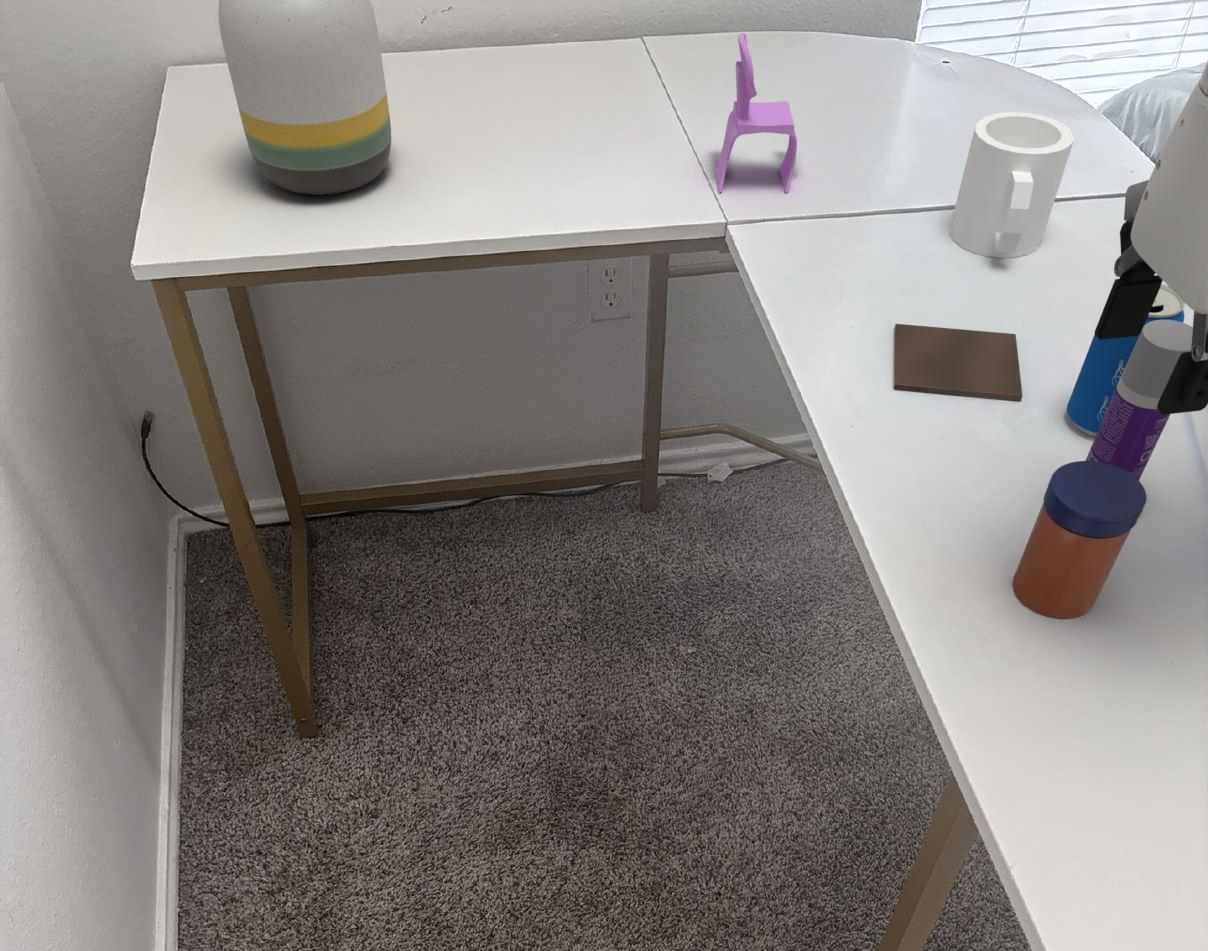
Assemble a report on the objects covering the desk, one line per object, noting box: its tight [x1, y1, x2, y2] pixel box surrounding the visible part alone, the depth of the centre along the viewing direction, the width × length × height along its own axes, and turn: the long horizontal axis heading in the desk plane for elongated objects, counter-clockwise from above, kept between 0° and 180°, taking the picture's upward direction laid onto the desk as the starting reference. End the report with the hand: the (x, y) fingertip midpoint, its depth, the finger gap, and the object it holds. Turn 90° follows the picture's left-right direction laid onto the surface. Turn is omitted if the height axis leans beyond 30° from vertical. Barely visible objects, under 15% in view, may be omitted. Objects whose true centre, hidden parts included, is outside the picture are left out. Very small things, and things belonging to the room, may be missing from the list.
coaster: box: [893, 323, 1023, 402], centre depth 107 cm, size 12×11×1 cm
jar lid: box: [1043, 460, 1148, 537], centre depth 81 cm, size 7×7×2 cm
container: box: [1085, 320, 1193, 482], centre depth 89 cm, size 5×5×15 cm
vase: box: [217, 0, 392, 196], centre depth 122 cm, size 17×17×24 cm
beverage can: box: [1065, 283, 1186, 438], centre depth 97 cm, size 6×6×12 cm
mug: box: [949, 111, 1075, 259], centre depth 118 cm, size 14×10×11 cm
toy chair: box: [714, 32, 798, 194], centre depth 125 cm, size 8×9×15 cm
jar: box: [1011, 501, 1132, 619], centre depth 84 cm, size 7×7×9 cm
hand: (1147, 370), depth 72 cm, fingers open, 8 cm apart
